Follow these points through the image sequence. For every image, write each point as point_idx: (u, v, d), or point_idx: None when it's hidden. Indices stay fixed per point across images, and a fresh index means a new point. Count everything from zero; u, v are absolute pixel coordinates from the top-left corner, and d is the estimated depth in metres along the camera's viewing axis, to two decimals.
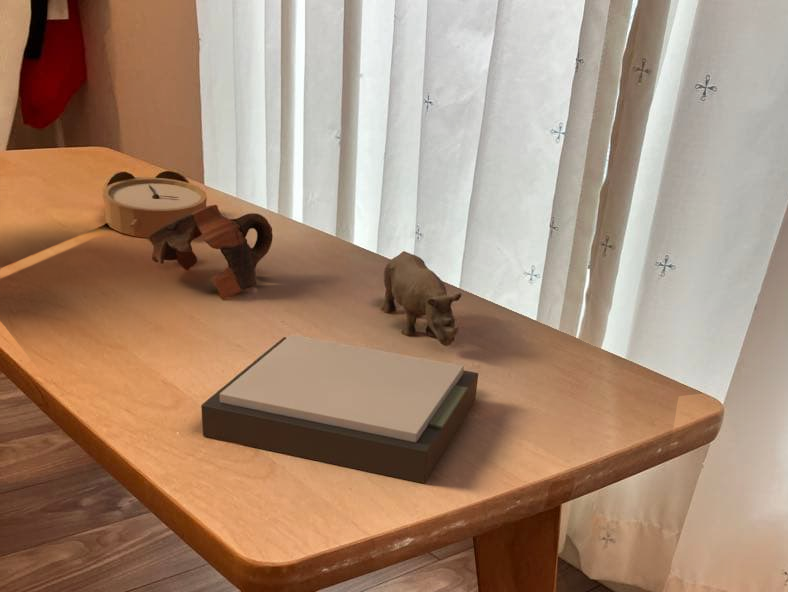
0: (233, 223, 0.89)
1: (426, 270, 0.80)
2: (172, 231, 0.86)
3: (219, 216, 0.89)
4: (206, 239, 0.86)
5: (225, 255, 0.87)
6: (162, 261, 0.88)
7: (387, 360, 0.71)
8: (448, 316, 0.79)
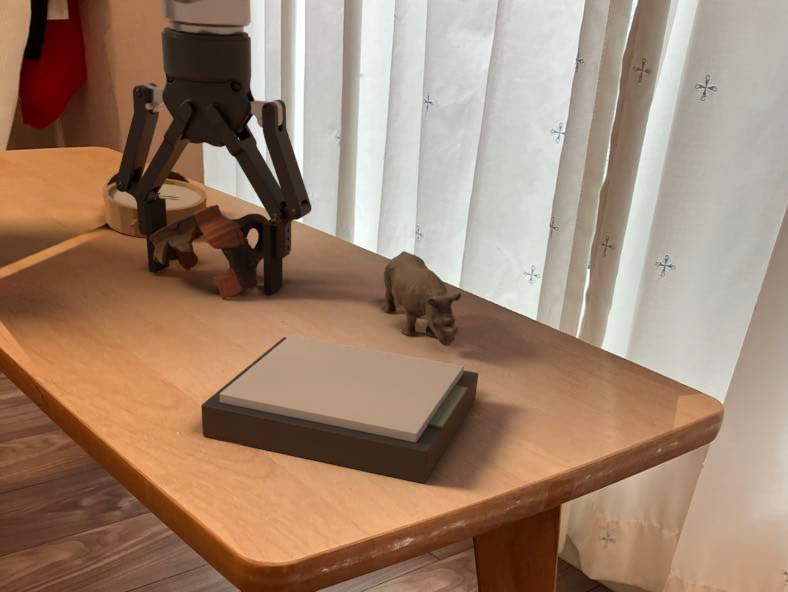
0: (234, 223, 0.89)
1: (426, 270, 0.80)
2: (173, 231, 0.86)
3: (220, 216, 0.89)
4: (208, 239, 0.86)
5: (226, 255, 0.87)
6: (163, 261, 0.87)
7: (387, 360, 0.71)
8: (448, 316, 0.79)
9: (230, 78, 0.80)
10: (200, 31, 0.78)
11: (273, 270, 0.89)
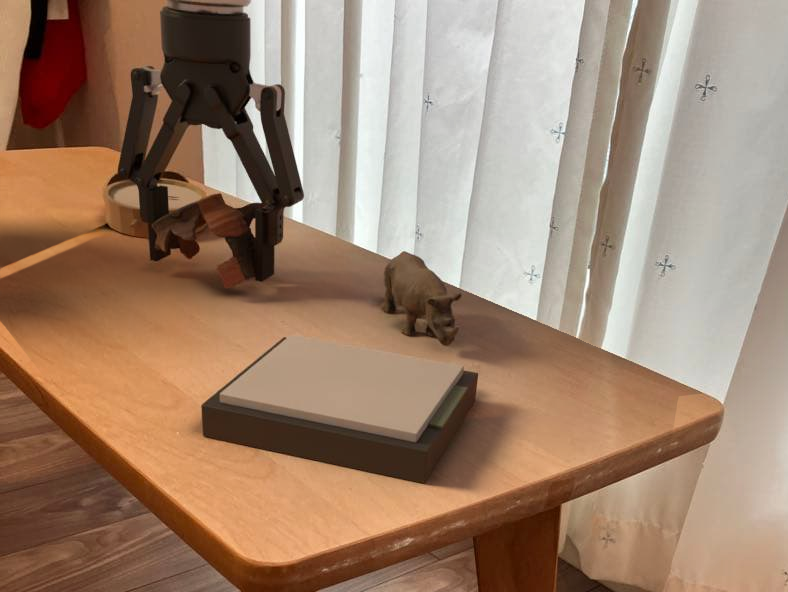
0: (238, 212, 0.88)
1: (427, 270, 0.80)
2: (176, 219, 0.86)
3: (224, 205, 0.88)
4: (211, 227, 0.86)
5: (230, 244, 0.86)
6: (166, 249, 0.87)
7: (387, 360, 0.71)
8: (448, 316, 0.79)
9: (229, 59, 0.79)
10: (199, 10, 0.77)
11: (265, 258, 0.89)
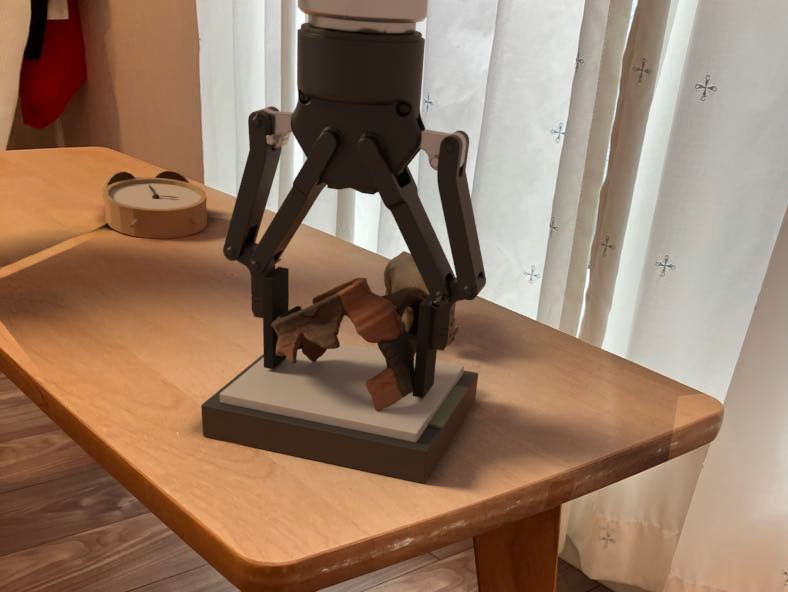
0: (390, 304, 0.64)
1: None
2: (311, 319, 0.61)
3: (371, 295, 0.63)
4: (360, 330, 0.61)
5: (384, 351, 0.62)
6: (295, 360, 0.62)
7: None
8: None
9: (398, 97, 0.55)
10: (361, 29, 0.53)
11: (427, 366, 0.64)
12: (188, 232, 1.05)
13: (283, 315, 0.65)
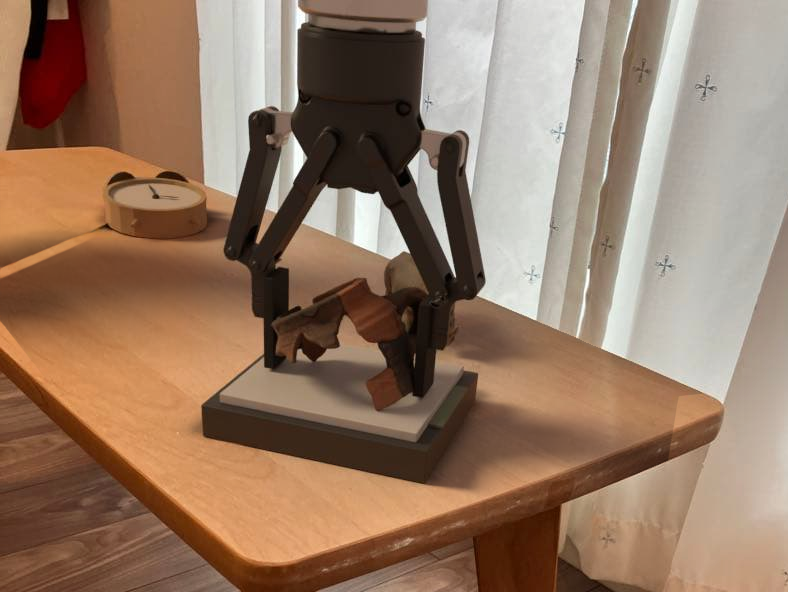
0: (390, 304, 0.64)
1: None
2: (311, 319, 0.61)
3: (371, 295, 0.63)
4: (360, 330, 0.61)
5: (384, 351, 0.62)
6: (295, 360, 0.62)
7: None
8: None
9: (398, 97, 0.55)
10: (361, 28, 0.53)
11: (427, 366, 0.64)
12: (188, 232, 1.05)
13: (283, 315, 0.65)
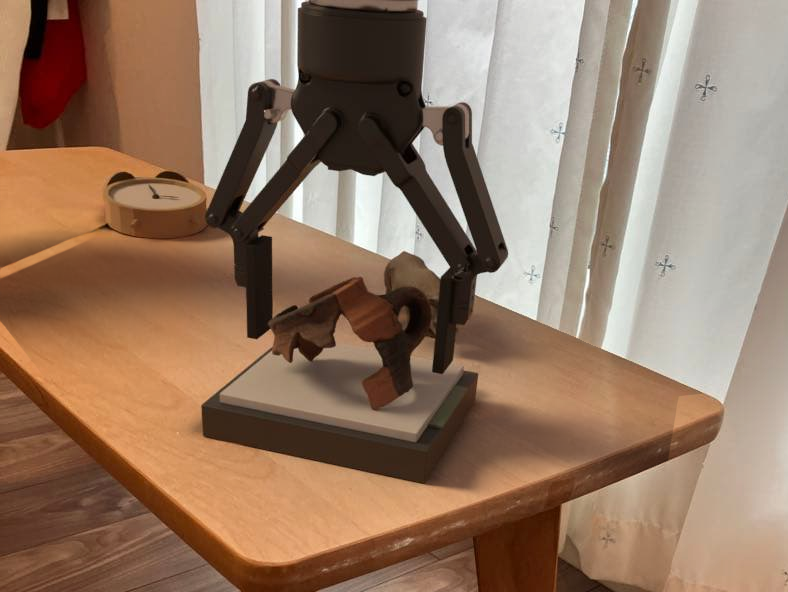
0: (386, 303, 0.64)
1: (427, 270, 0.80)
2: (307, 318, 0.61)
3: (368, 294, 0.64)
4: (356, 329, 0.61)
5: (380, 350, 0.62)
6: (291, 359, 0.62)
7: None
8: None
9: (400, 76, 0.54)
10: (362, 6, 0.52)
11: (447, 341, 0.63)
12: (188, 232, 1.05)
13: (280, 314, 0.66)
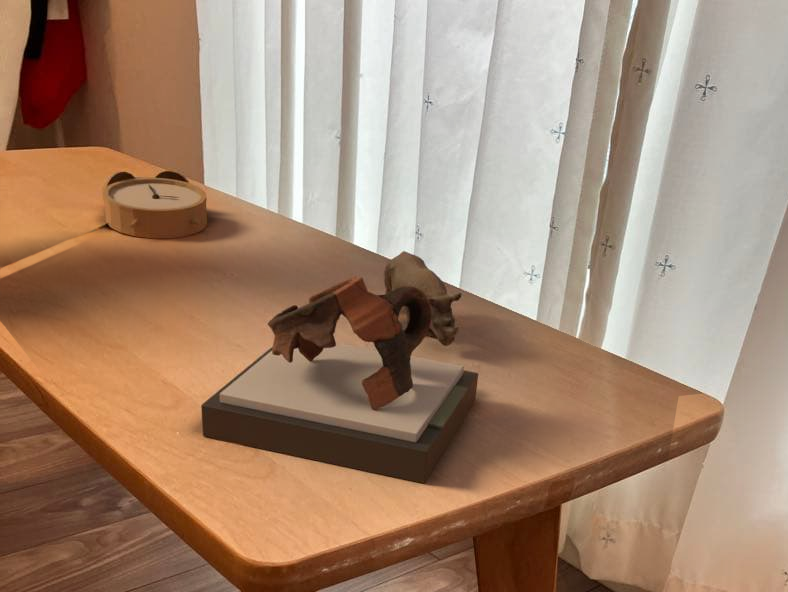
0: (386, 303, 0.64)
1: (427, 270, 0.80)
2: (307, 318, 0.61)
3: (368, 294, 0.64)
4: (356, 329, 0.61)
5: (380, 350, 0.62)
6: (291, 359, 0.62)
7: None
8: (448, 316, 0.79)
9: None
10: None
11: None
12: (188, 232, 1.05)
13: (280, 314, 0.66)
